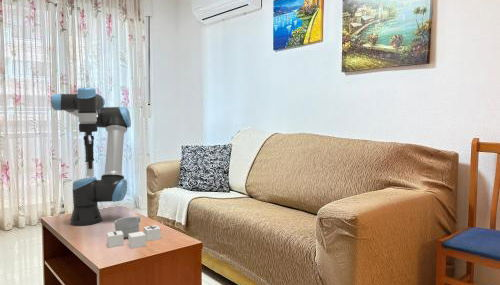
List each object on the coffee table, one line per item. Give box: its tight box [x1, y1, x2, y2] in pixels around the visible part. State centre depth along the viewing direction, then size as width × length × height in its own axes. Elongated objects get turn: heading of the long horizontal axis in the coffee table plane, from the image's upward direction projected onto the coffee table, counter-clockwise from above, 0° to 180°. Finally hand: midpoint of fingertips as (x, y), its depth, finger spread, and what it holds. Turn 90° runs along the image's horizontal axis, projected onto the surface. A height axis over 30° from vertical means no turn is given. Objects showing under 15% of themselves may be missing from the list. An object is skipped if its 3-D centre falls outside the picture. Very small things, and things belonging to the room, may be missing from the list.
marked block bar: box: [106, 230, 125, 249], centre depth 162 cm, size 6×6×5 cm
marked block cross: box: [143, 224, 162, 242], centre depth 169 cm, size 6×6×5 cm
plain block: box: [127, 230, 147, 250], centre depth 160 cm, size 6×6×5 cm
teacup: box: [114, 215, 141, 239], centre depth 174 cm, size 14×11×8 cm
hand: (90, 175), depth 166 cm, fingers closed
